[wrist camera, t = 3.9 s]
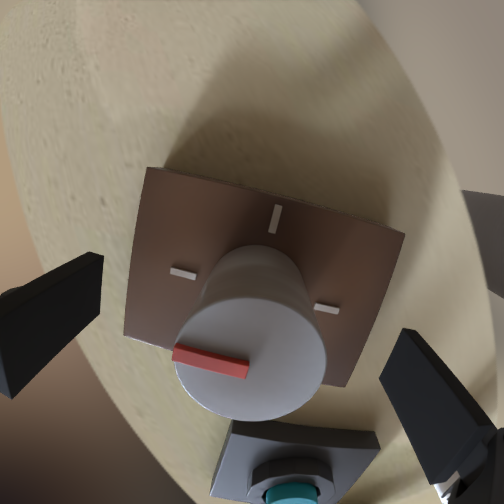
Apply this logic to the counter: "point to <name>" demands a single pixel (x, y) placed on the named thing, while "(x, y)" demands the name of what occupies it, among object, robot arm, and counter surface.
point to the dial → (251, 338)
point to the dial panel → (254, 233)
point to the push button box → (290, 460)
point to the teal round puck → (292, 494)
